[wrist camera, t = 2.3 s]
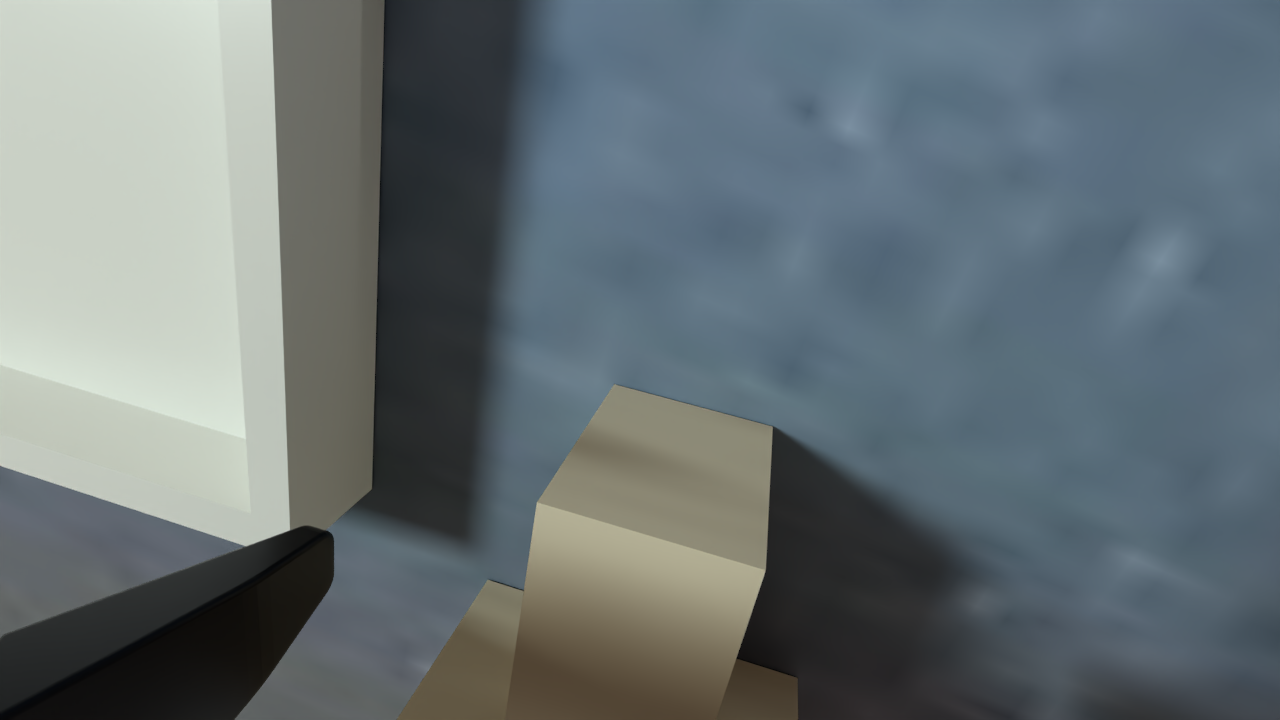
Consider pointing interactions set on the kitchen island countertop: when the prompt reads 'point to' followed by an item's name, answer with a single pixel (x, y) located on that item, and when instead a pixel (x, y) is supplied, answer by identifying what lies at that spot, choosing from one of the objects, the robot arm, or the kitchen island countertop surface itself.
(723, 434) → the birch collar
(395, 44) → the kitchen island countertop surface
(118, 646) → the robot arm
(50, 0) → the tray
